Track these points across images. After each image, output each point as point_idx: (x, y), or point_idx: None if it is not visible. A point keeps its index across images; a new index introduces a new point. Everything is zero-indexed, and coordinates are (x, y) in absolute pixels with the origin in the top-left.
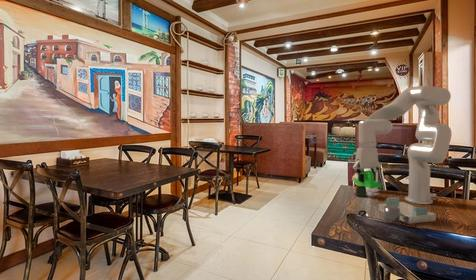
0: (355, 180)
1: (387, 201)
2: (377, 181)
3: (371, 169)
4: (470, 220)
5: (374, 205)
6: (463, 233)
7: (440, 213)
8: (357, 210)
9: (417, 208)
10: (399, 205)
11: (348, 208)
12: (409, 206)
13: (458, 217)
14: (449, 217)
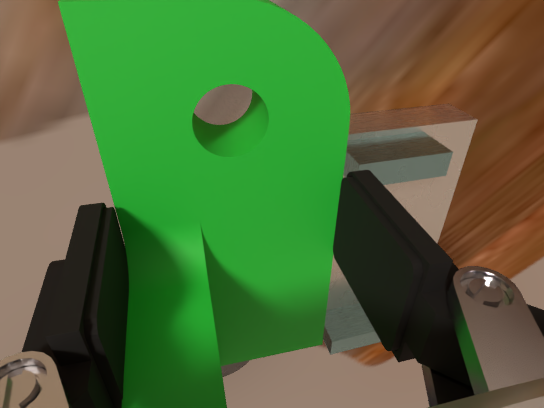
0: (76, 50)
1: (346, 163)
2: None
3: (469, 353)
4: (510, 277)
5: (317, 2)
6: (365, 364)
7: (512, 208)
8: (83, 101)
9: (343, 348)
10: (387, 185)
11: (8, 29)
12: (421, 207)
13: (513, 252)
14: (486, 251)
